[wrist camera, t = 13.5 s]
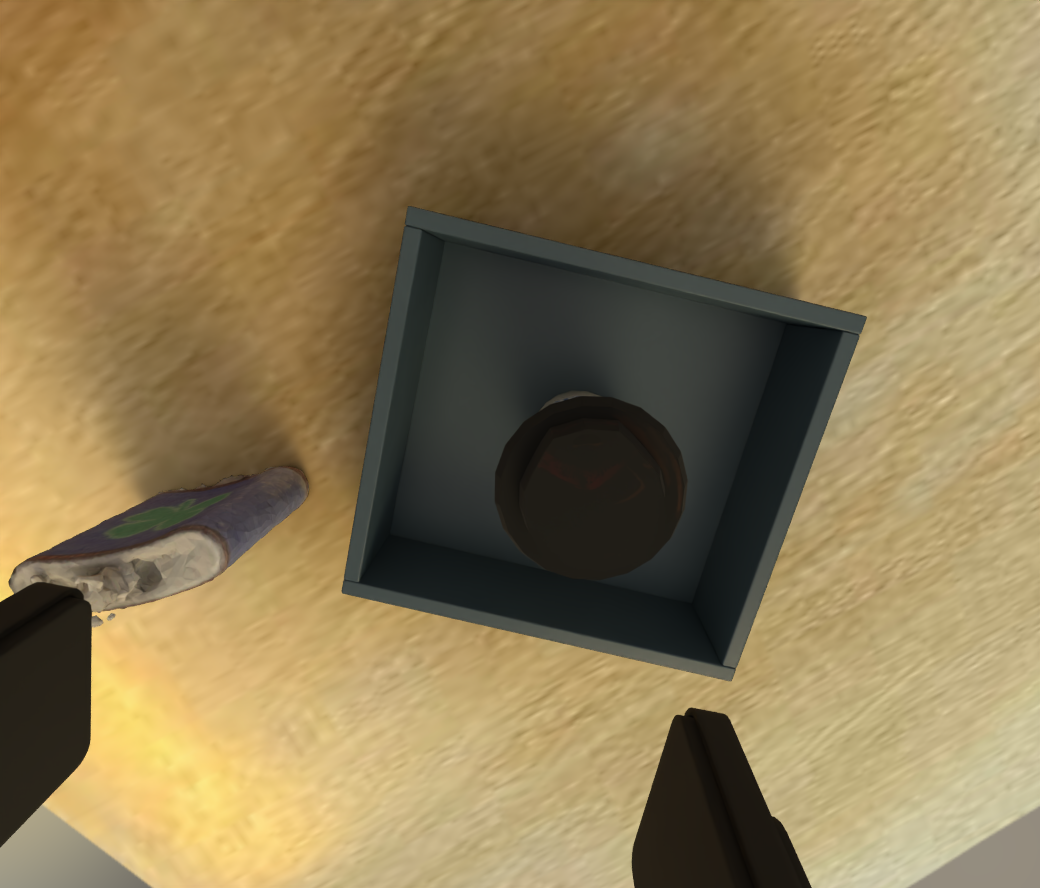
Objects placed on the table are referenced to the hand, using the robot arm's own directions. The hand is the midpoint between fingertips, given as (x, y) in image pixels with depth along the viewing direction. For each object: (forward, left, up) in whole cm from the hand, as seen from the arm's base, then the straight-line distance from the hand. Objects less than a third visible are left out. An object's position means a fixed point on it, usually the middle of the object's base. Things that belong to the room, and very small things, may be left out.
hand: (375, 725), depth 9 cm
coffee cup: (-1, +4, -21) cm, 22 cm away
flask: (+7, -13, -22) cm, 26 cm away
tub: (-1, +4, -22) cm, 22 cm away
